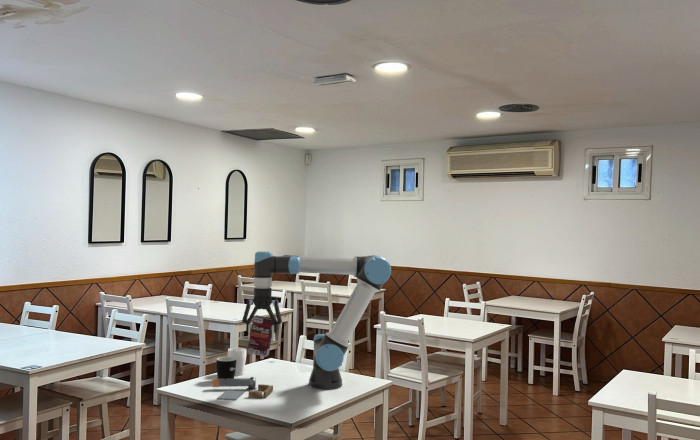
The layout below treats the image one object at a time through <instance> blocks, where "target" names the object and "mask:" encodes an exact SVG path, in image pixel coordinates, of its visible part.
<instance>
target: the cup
mask: <svg viewBox="0 0 700 440" xmlns="http://www.w3.org/2000/svg"><path fill="white" fill-rule="evenodd" d="M227 357H234V358H236V370H235V376H237V377H239V376H242V375H244V372H245V366H246V360H247V348H245V347H231V348H230V347H229V348H228V349H227ZM235 376H234V377H235Z"/></svg>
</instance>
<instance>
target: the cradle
mask: <svg viewBox="0 0 700 440" xmlns="http://www.w3.org/2000/svg"><path fill="white" fill-rule="evenodd" d="M246 390H247V391H248V398H250V399H252V398H253V399H267V398H268V397H269V396H270V395H271V394H272V393H273V392H274V385H273V384H272V385H271V384H261V383H260V384H257V387H256V388H255V389H248V387H247V388H246Z"/></svg>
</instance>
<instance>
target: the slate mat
mask: <svg viewBox="0 0 700 440" xmlns="http://www.w3.org/2000/svg"><path fill="white" fill-rule="evenodd" d="M243 394H245V391H243V390H225V391H224V392H223V393H221V394H220V395H218V397H217V398H216V399H217V400H222V399H223V400H225V401H227V400H228V401H237V400H238V399H239V398H240V397H241V396H242V395H243Z"/></svg>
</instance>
